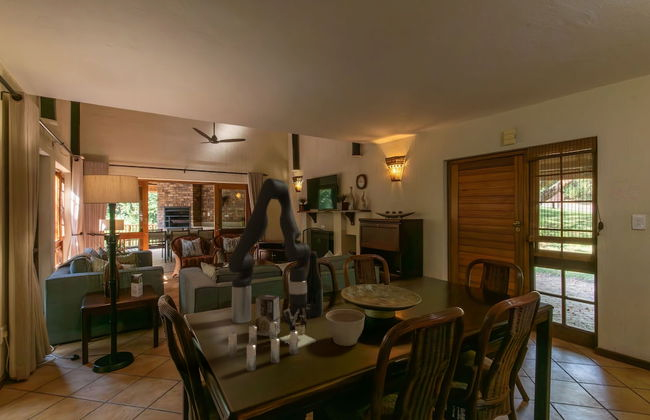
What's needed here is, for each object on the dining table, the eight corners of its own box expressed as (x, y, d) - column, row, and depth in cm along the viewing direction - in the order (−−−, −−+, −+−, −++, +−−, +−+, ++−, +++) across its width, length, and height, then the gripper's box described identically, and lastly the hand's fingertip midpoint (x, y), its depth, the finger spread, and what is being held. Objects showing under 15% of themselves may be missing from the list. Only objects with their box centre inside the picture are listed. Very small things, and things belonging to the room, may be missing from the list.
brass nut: (289, 333, 128) (289, 324, 129) (298, 330, 132) (298, 321, 132) (297, 337, 124) (297, 328, 124) (307, 333, 128) (307, 325, 128)
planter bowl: (319, 337, 131) (319, 312, 132) (353, 331, 138) (353, 307, 138) (335, 353, 117) (335, 324, 117) (372, 346, 123) (372, 318, 123)
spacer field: (225, 353, 116) (226, 332, 116) (273, 338, 130) (273, 319, 130) (250, 373, 102) (250, 349, 102) (300, 353, 116) (300, 332, 116)
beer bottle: (298, 314, 161) (298, 251, 161) (312, 310, 168) (312, 250, 169) (313, 319, 154) (313, 253, 154) (326, 314, 162) (327, 251, 162)
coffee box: (280, 332, 137) (280, 295, 138) (273, 337, 131) (273, 299, 131) (262, 329, 140) (263, 294, 140) (255, 334, 134) (255, 297, 134)
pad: (279, 339, 129) (279, 338, 129) (298, 333, 136) (298, 331, 136) (296, 348, 120) (296, 347, 120) (316, 341, 127) (316, 340, 127)
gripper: (305, 286, 136) (305, 325, 136) (278, 292, 126) (278, 334, 126) (316, 289, 130) (316, 330, 130) (289, 296, 121) (289, 339, 120)
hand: (297, 331), depth 128 cm, fingers closed on brass nut, 5 cm apart
